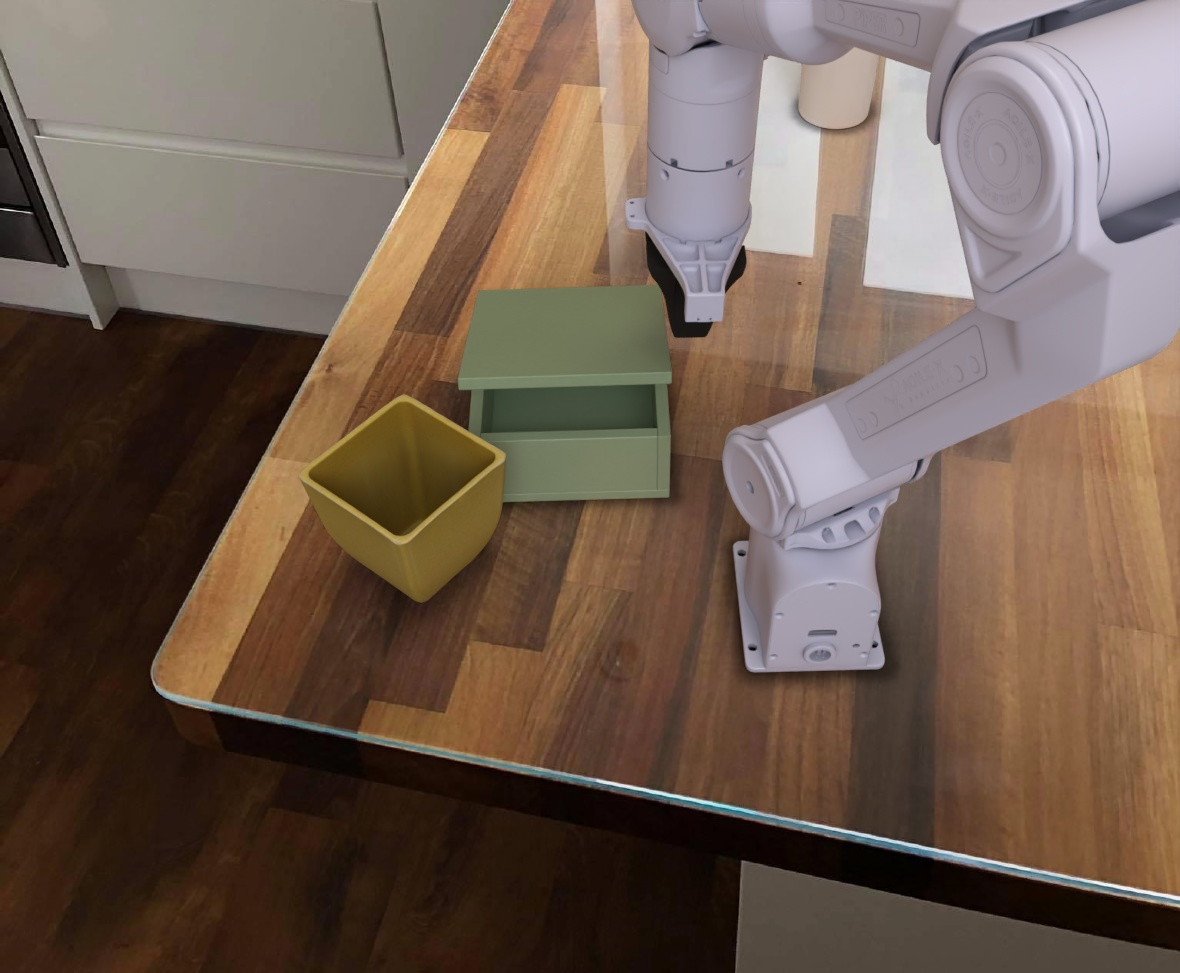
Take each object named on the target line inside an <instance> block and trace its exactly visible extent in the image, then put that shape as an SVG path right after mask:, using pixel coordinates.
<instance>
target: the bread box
mask: <svg viewBox="0 0 1180 973" xmlns="http://www.w3.org/2000/svg"><path fill="white" fill-rule="evenodd" d="M470 392H471V395H470V406H469V416H468V417H469V419H468V428H467V429H468V430H467V431H469V432H471V433H472V434H474V435H476V436H478V437H480V438H481V439H483V440H485V441H486V442H488V443H490V444H491V445H493V446H495V447H497V448H498V449H500V450H502V451H503V452H504V453H505V454H506V464H505V481H504V494H503V503H522V502H525V503H526V502H557V501H558V502H560V501H593V500H595V501H596V500H628V499H631V500H632V499H666V498H670V494H671V492H670V491H671V489H670V488H671V447H672V446H671V445H672V444H671V442H672V441H671V440H672V439H671V438H672V435H671V434H672V433H671V432H672V431H671V420H670V419H671V418H670V405H669V390H668V384H646V385H613V386H580V387H548V388H515V389H482V390H471V391H470Z"/></svg>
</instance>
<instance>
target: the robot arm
mask: <svg viewBox="0 0 1180 973" xmlns="http://www.w3.org/2000/svg"><path fill="white" fill-rule="evenodd" d="M630 1H631V4H632V8H633V11H634V14H635V16H636V19H637V22H638V24H639V26H640V28H641V29H642V31H643V34H645V37H646V38H647V39H648V69H647V72H648V75H647V76H648V78H647V79H648V82H647V123H646V124H647V128H646V171H645V172H646V174H645V175H646V176H645V195H644V196H642V197H632V198H628V199H626V200H625V202H624V224H625V227H626V228H627V229H629V230H633V231H644V232H645V234H644V235H645V236H644V237H645V251H646V252H645V253H646V254H645V255H646V266H647V269H648V271H649V274H650V276H651V278H652V280H654V282H655V283H656V285H659V287H660V289H661V291H662V296H663V298H664V302H665V306H666V312H667V318H668V323H669V327H670V330H671V333H672V336H673V337H674V338H675V339H683V338H684V339H689V338H691V339H692V338H693V339H694V338H696V339H697V338H706V337H707V336H708V335H709V333H710V332H711V331H710V330H711V329H712V326H713V324H714V322H716V323H717V322H723V321H724V311H725V303H726V302H725V301H726V295H727V293H728V291H729V290H730V289H731V287H732V286H733V285H734V284H735V283H736V282H737V281H739V279H741V277H743V275H744V273H745V270H746V267H747V263H748V258H747V252H746V245H745V244H744V242H745V240H746V237H747V235H748V233H749V231H750V228H751V224H752V217H753V206H752V204H751V203H752V202H751V190H752V181H753V171H754V160H755V151H756V139H757V129H758V120H759V109H760V99H761V89H762V81H763V80H762V78H763V69H764V62H765V61H766V60H767V59H769V57H774V58H777V59H778V58H779V59H781V60H786V61H790V62H793V63H798V64H801V65H802V64H805V65H821V64H827V63H829V62H833V61H835V60H837V59H839V58H841V57H842V56H844V55H845V54H847V53H848V52H849V51H850V50H852V49H853V48H854V47H855V48H858V49H861V50H864V51H867V52H870V53H873V54H877V55H879V57H883V58H886V59H889V60H892V61H895V62H898V63H901V64H903V65H907V66H910V67H913V68H916V69H919V70H921V71H925V72H928V73H930V74H929V80H928V86H927V92H926V106H925V107H926V108H925V109H926V110H925V117H926V120H925V121H926V136H927V138H928V140H929V141H930V143H931V144H932V145H933V146H937V145H940V155H941V159H942V165H943V169H944V172H945V176H946V180H947V184H948V189H949V193H950V198H951V202H952V207H953V211H954V216H955V220H956V223H957V225H956V226H957V229H958V233H959V237H960V243H961V246H962V250H963V256H964V261H965V265H966V269H967V274H968V278H969V283H970V286H971V292H972V296H973V301H974V305H975V307H973V308H971V309H970V310H969V311H966V313H964V314H963V315H961V316H959V317H957V318H956V319H954V320H953V321H951V322H949V323H948V324H947V325H944V326H943V327H941V328H940V329H938V330H937V331H935V332H934V333H932V334H930V335H929V336H927V337H926V338H924V339H922V340H921V341H919V342H917V343H916V344H914V345H913V346H911V347H909V348H908V349H906V350H904V351H903V352H902V353H900V354H899V355H897V356H895V357H893V358H892V359H890V360H888V361H887V362H885V363H884V364H883V365H881V366H879V367H878V368H876V369H874V370H872V371H871V372H870V373H868V374H866V375H864V376H862V377H860V378H859V379H858V380H857V381H854V383H851V384H849V385H846V386H844V387H841V388H839V389H836V390H833V391H831V392H829V393H826V394H824V395H821V396H819V397H816V398H814V399H811V400H809V401H806V402H804V403H802V404H799V405H797V406H794V407H792V408H789V409H787V410H784V411H782V412H779V413H777V414H774V415H772V416H770V417H767V418H765V419H762V420H760V421H758V422H755V423H752V424H750V425H749V424H743V425H740V426H737V427H734V428H732V430H730V431H729V432H728V434H727V435H726V438H725V441H724V447H723V450H722V456H721V462H722V464H721V465H722V471H723V476H724V480H725V484H726V487H727V490H728V493H729V496H730V497H731V500H732V502H733V503H734V506H735V507H736V509H737V511H738V512H739V514H740V515H741V517H742V518H743V520H744V521H745V522H746V523H747V524H748V525H749V535H748V540H737V541H735V542H734V543H733V545H732V556H733V566H734V575H735V584H736V593H737V602H738V612H739V620H740V629H741V640H742V649H743V658H744V666H745V668H746V670H747V671H749V672H750V673H782V672H783V673H785V672H787V673H788V672H822V671H823V672H824V671H825V672H826V671H860V670H861V671H863V670H864V671H865V670H866V671H867V670H881V669H882V668H883V667H884V665H885V662H886V657H885V653H884V647H883V642H882V637H881V633H880V628H879V618H880V616H881V615H880V614H881V611H882V610H881V609H882V598H881V593H880V588H879V582H878V579H877V578H878V577H877V570H876V554H877V548H878V544H879V541H880V540H879V539H880V535H881V530H882V527H883V522H884V517H885V514H886V511H887V510H888V509H889V507H890V506H892V505H893V504H895V503H896V502H898V498H899V494H900V490H901V485H909V484H912V483H914V482H917V481H919V480H920V479H922V478H923V476H925V474H926V473H927V471H928V469H929V466H930V463H931V460H932V459H933V457H934V456H935V455H936V454H937V453H939V452H940V451H943V450H945V449H947V448H949V447H952V446H954V445H957V444H959V443H961V442H964V441H965V440H968V439H970V438H972V437H975V436H977V435H980V434H982V433H984V432H986V431H989V430H990V429H993V428H995V427H997V426H999V425H1002V424H1004V423H1006V422H1010V421H1011V420H1014V419H1016V418H1018V417H1021V416H1022V415H1025V414H1028V413H1030V412H1032V411H1034V410H1036V409H1039V408H1041V407H1044V406H1046V405H1048V404H1051V403H1053V402H1055V401H1057V400H1060V399H1063V398H1064V397H1066V396H1069V395H1071V394H1073V393H1076V392H1078V391H1080V390H1083V389H1085V388H1087V387H1089V386H1092V385H1094V384H1097V383H1099V382H1101V381H1104V380H1106V379H1108V378H1110V377H1112V376H1115V375H1118V374H1119V373H1122V372H1124V371H1126V370H1128V369H1131V368H1133V367H1135V366H1138V365H1140V364H1142V363H1145V362H1147V361H1149V360H1151V359H1153V358H1155V357H1156V356H1157V355H1159V354H1160V353H1162V352H1163V350H1165V349H1166V348H1168V347H1169V346H1170V344H1171V342H1172V341H1173V340H1174V338H1175V337H1176V335H1177V334H1178V332H1179V330H1180V0H630ZM873 645H874V646H875V647H873ZM750 648H754V649H755V650H751V649H750Z"/></svg>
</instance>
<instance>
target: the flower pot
mask: <svg viewBox="0 0 1180 973" xmlns="http://www.w3.org/2000/svg"><path fill="white" fill-rule="evenodd" d="M505 464H506V454H505V453H504V452H503V451H502V450H500V449H498V448H497V447H495V446H493V445H491V444H490V443H488V442H486V441H485V440H483V439H481V438H480V437H478V436H476V435H474V434H472V433H471V432H469V431H468V430H467V429H465V428H464V427H462V426H461V425H459V424H458V423H455V422H454V421H452V420H450V419H449V418H447V417H446V416H444V415H442V414H440V413H439V412H437V411H435V410H434V409H433V408H431V407H429V406H427V405H426V404H424V403H422V402H421V401H419V400H417V399H416V398H413V397H412V396H409V395H408V394H405V393H404V394H400V395H399V396H397V397H395V398H394V399H392V400H391V401H389V402H388V403H387V404H385V405H384V406H382V407H381V408H380V409H379V410H377V411H376V412H374V413H373V414H371V416H370V417H368V418H367V419H366V420H364V421H363V422H362V423H360V424H359V425H358V426H356V427H355V428H354V429H352V430H351V431H350V432H349V433H348V434H346V435H345V436H344V437H343V438H341V439H340V440H338V441H337V442H336V443H335V444H334V443H333V445H332V446H330V447H329V448H328V449H327V450H325V451H324V452H323V453H321V454H320V455H318V456H317V457H316V458H315V459H313V460H312V461H311V462H310V463H308V464H307V465H306V466H305V467H304V468H303V469H302V470H301V471H300V472H299V473H298V474H297V475H298V479H299V481H300V482H301V484H302V486H303V489H304V490H305V493H306V494H307V496H308V499H309V500H310V503H311V504H312V506H313V508H314V510H315V512H316V515H317V516H318V518H319V520H320V522H321V524H322V525H323V527H324V529H325V531H326V532H327V533H328V534H329V536H330V537H331V539H333V541H334V542H335V543H336V544H337V545H338V546H339V547H340V548H341V549H342V550H343V551H344V552H345V553H347V554H348V555H349V556H350V557H351V558H353V559H354V560H355V561H357V562H358V563H360V564H361V565H363V566H364V567H366V568H367V569H368V570H370V571H372V573H374V574H376V575H377V576H379V577H380V578H382V579H383V580H385V581H386V582H387V583H389V585H391V586H393V587H395V588H396V589H397V590H399V591H400V592H401V593H403V594H404V595H405V596H407V597H408V598H410V599H411V600H413V601H414V602H416V603H420V604H423V603H426V602H427V601H429V600H431V599H432V598H433V597H434V596H435V595H436V594H437V593H438V592H439V591H440V590H441V589H442V588H443V587H445V586H446V585H447V584H448V583H449V582H450V581H451V580H452V579H454V577H456V575H458V574H459V573H460V572H461V571H462V570H464V569H465V568H466V567H467V566H468V565H469V564H470V563H472V562H473V561H474V560H475V559H476V558H477V557H478V555H479V554H480V553H481V552H482V551H483V549H484V548H485V547H486V545H487V544H488V543H489V541H490V540H491V538H492V537H493V535H494V533H495V531H496V529H497V527H498V525H499V522H500V519H501V515H502V511H503V504H504V502H503V494H504V481H505Z"/></svg>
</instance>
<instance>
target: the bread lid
mask: <svg viewBox="0 0 1180 973" xmlns="http://www.w3.org/2000/svg"><path fill="white" fill-rule="evenodd" d="M668 338H669V337H668V330H667V322H666V316H665V308H664V300H663V293H662V291H661V289H660V287H659V285H658V284H630V285H629V284H627V285H600V286H599V285H598V286H596V285H595V286H571V287H570V286H568V287H567V286H566V287H540V288H539V287H538V288H537V287H535V288H534V287H533V288H508V289H507V288H506V289H505V288H504V289H481V290H480V289H478V290H477V293H476V298H475V301H474V306H473V311H472V314H471V319H470V323H469V327H468V331H467V336H466V341H465V345H464V350H463V353H462V358H461V363H460V367H459V371H458V376H457V387H458V391H472V390H482V389H515V388H548V387H580V386H613V385H646V384H667V385H671V384H672V383H673V369H672V361H671V355H670V347H669V339H668Z"/></svg>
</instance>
